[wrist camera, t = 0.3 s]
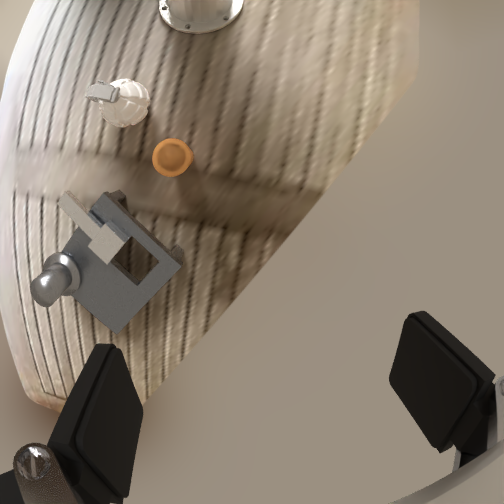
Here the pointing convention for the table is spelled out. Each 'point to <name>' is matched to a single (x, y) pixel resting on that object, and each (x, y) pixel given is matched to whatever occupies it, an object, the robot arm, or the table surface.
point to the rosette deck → (103, 262)
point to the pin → (172, 157)
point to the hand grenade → (120, 101)
